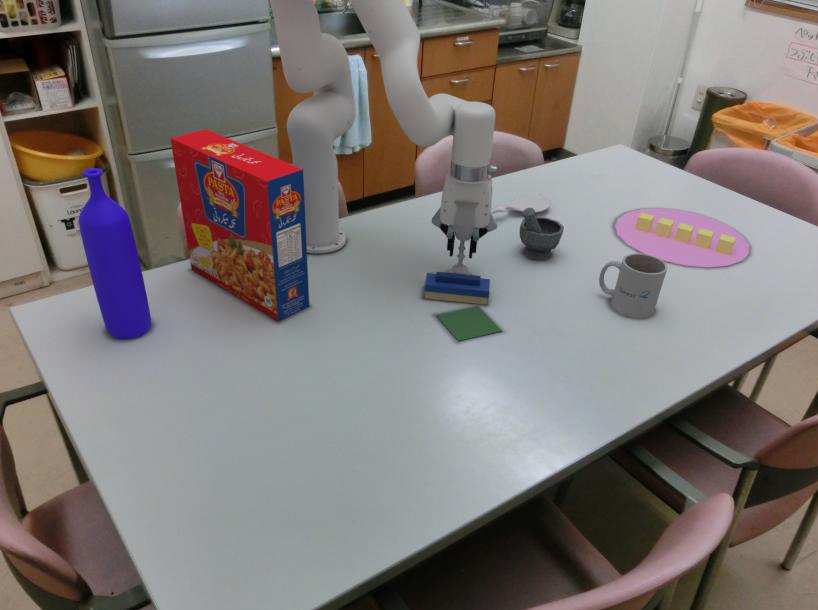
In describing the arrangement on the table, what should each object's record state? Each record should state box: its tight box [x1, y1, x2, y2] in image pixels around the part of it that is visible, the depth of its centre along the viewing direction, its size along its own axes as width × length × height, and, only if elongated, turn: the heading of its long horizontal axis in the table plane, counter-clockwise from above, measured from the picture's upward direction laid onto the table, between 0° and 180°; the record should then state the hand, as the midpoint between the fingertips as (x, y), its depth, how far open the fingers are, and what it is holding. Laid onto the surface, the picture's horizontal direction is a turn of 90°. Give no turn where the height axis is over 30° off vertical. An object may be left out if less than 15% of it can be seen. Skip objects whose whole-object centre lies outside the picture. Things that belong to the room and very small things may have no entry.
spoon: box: [479, 193, 552, 229], centre depth 171 cm, size 9×32×4 cm, turn 128°
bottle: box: [78, 167, 152, 340], centre depth 118 cm, size 8×8×30 cm
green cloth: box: [435, 305, 503, 342], centre depth 134 cm, size 10×10×1 cm
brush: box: [424, 271, 491, 306], centre depth 140 cm, size 13×5×5 cm, turn 83°
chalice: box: [448, 202, 479, 275], centre depth 143 cm, size 7×7×18 cm
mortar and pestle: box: [519, 208, 565, 261], centre depth 155 cm, size 11×9×12 cm
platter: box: [614, 207, 750, 269], centre depth 168 cm, size 32×32×3 cm
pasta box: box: [170, 128, 310, 323], centre depth 132 cm, size 28×8×28 cm, turn 49°
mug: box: [598, 252, 668, 319], centre depth 139 cm, size 12×9×10 cm
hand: (461, 253), depth 145 cm, fingers closed on chalice, 3 cm apart
